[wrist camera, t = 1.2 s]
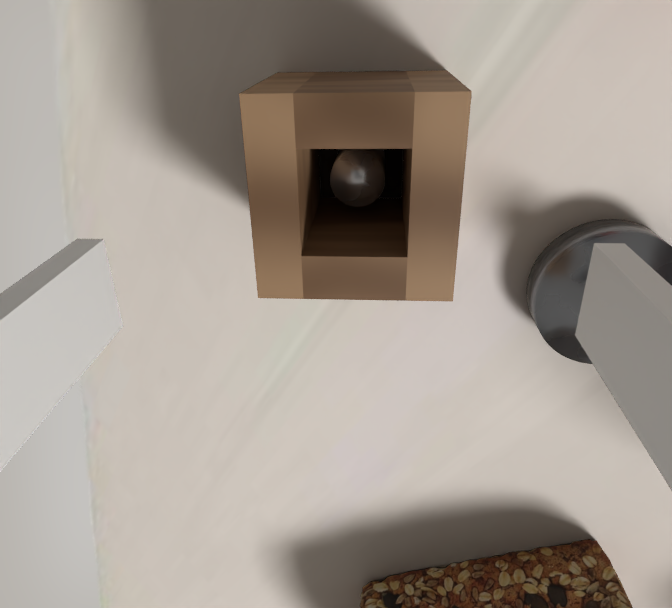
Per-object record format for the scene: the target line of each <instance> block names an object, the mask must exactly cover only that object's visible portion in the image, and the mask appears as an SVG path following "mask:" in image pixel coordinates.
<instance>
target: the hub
mask: <svg viewBox="0 0 672 608" xmlns="http://www.w3.org/2000/svg"><path fill="white" fill-rule="evenodd" d="M594 243H625V244H626V245H627V246H628V247H629V248H630V249H631V250H633V251H634V252H635V253H636V254H637V255H638V256H639V257H640V258H641V259H643V260H644V261H645V262H646V263H647V264H648V265H649V266H650V267H651V268H652V269H654V270H655V271H656V272H657V273H658V274H659V275H660V276H661V277H662V278H664V279H665V280H666V281H667V282H668V283H669V284H670V285H671V286H672V247H671V246H670V245H669V244H668V243H666V242H665V241H664V240H663V239H661V238H660V237H659V236H658V235H656V234H655V233H654V232H652V231H651V230H650V229H648V228H646V227H644V226H642V225H640V224H637V223H634V222H631V221H625V220H616V219H609V220H599V221H593V222H590V223H586V224H583V225H580V226H578V227H575V228H573V229H571V230H569V231H568V232H566V233H564V234H563V235H561V236H560V237H558V238H557V239H555V240H554V241H553V242H552V243H551V244H550V245H549V246H548V247H547V248H546V249H545V250H544V251H543V252H542V253H541V255H540V256H539V258H538V259H537V260H536V262H535V264H534V266H533V268H532V270H531V273H530V275H529V279H528V283H527V292H526V294H527V303H528V307H529V310H530V313H531V315H532V317H533V319H534V321H535V323H536V325H537V327H538V329H539V331H540V333H541V335H542V336H543V338H544V340H545V341H546V342H547V343H548V344H549V346H551V347H552V348H553V349H554V350H555V351H556V352H558V353H560V354H561V355H563V356H565V357H567V358H569V359H572V360H575V361H578V362H583V363H588V364H593V363H592V362H591V360H590V359H589V357H588V355H587V354H586V352H585V350H584V349H583V347H582V346H581V344H580V342H579V341H578V339H577V338H576V336H575V333H576V328H577V323H578V318H579V313H580V309H581V304H582V299H583V294H584V289H585V285H586V280H587V275H588V270H589V265H590V260H591V256H592V251H593V246H594Z"/></svg>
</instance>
